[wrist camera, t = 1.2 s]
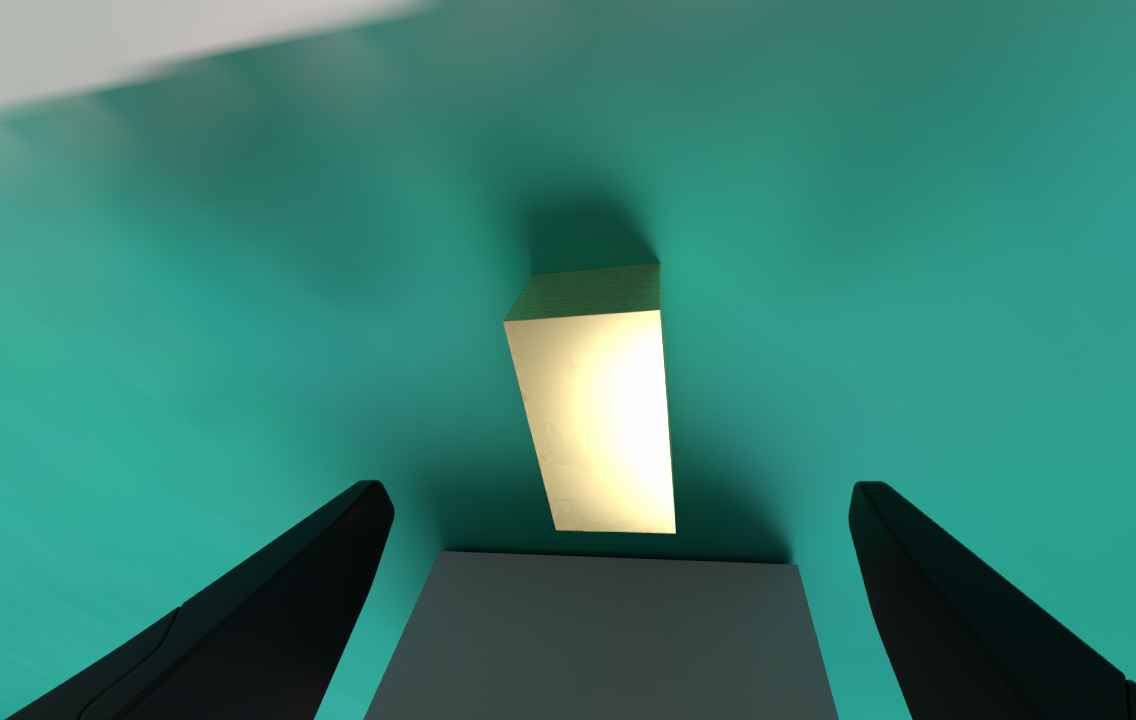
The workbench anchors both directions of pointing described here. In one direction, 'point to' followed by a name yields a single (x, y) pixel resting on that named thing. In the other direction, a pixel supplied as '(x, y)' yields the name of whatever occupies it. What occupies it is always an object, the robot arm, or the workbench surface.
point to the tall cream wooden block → (598, 396)
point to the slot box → (606, 642)
